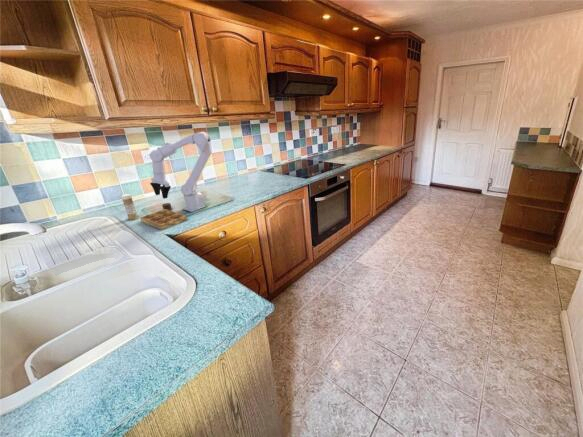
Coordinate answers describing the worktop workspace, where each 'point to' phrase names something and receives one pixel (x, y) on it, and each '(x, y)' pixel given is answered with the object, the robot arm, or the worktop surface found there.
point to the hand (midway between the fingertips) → (161, 196)
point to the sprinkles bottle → (129, 206)
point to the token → (167, 206)
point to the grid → (163, 219)
